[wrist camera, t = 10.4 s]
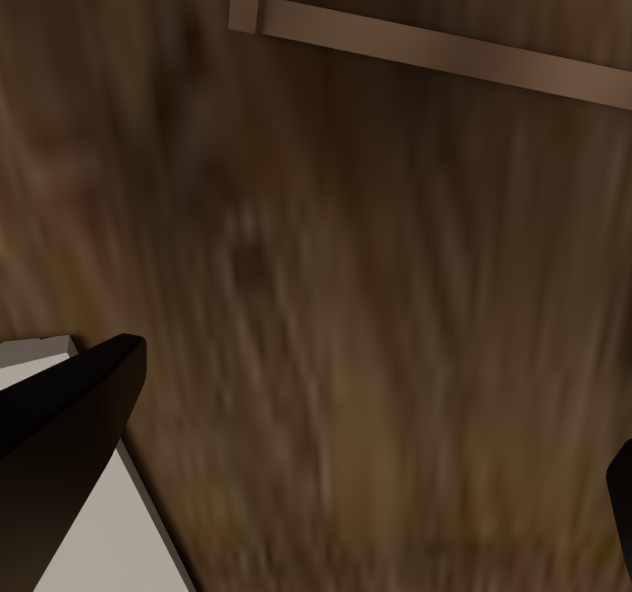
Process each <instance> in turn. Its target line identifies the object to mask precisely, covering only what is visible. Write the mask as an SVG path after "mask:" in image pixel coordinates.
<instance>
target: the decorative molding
mask: <svg viewBox="0 0 632 592" xmlns="http://www.w3.org/2000/svg"><path fill="white" fill-rule="evenodd" d="M77 354H79V353H78V351H77V349H76V347H75V345H74V343H73V341H72V339H71V337H70V335H64V336H55V337H50V338H46V339H42V340H40V338H35V339H25V340H15V341H6V342H2V343H1V344H0V390H2V389H4V388H7V387H9V386H11V385H13V384H15V383H17V382H19V381H21V380H24V379H26V378H28V377H30V376H32V375H34V374H36V373H38V372H41V371H43V370H45V369H47V368H49V367H51V366H53V365H56V364H58V363H60V362H62V361H64V360H66V359H68V358H70V357H73V356H75V355H77ZM33 592H197V591H196V589H195V587H194V585H193V583H192V581H191V579H190V577H189V575H188V573H187V571H186V569H185V567H184V565H183V563H182V561H181V559H180V557H179V555H178V553H177V551H176V549H175V547H174V545H173V543H172V541H171V539H170V537H169V535H168V533H167V531H166V529H165V527H164V525H163V523H162V521H161V519H160V517H159V515H158V513H157V511H156V509H155V507H154V505H153V503H152V501H151V499H150V497H149V495H148V493H147V491H146V489H145V487H144V485H143V483H142V481H141V479H140V476H139V474H138V472H137V470H136V468H135V466H134V464H133V462H132V460H131V458H130V456H129V454H128V452H127V450H126V448H125V446H124V444H123V442H122V440H121V438H120V440H119V442H118V444H117V446H116V449H115V451H114V453H113V455H112V457H111V459H110V461H109V463H108V464H107V466H106V468H105V470H104V471H103V473H102V475H101V477H100V478H99V480H98V482H97V483H96V485H95V487H94V489H93V490H92V492H91V494H90V495H89V497H88V499H87V501H86V502H85V504H84V506H83V507H82V509H81V511H80V513H79V514H78V516H77V518H76V519H75V521H74V523H73V524H72V526H71V528H70V530H69V531H68V533H67V535H66V536H65V538H64V540H63V542H62V543H61V545H60V547H59V548H58V550H57V552H56V554H55V555H54V557H53V559H52V560H51V562H50V564H49V566H48V567H47V569H46V571H45V572H44V574H43V576H42V578H41V579H40V581H39V583H38V584H37V586H36V588H35V589H34V591H33Z"/></svg>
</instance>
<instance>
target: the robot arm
mask: <svg viewBox="0 0 632 592" xmlns="http://www.w3.org/2000/svg"><path fill="white" fill-rule="evenodd" d="M146 372H147V343H146V340H145V339H144V338H143V337H142V336H137V335H132V334H127V333H122V334H119V335H117V336H115V337H113V338H111V339H109V340H107V341H104V342H102V343H100V344H98V345H96V346H94V347H92V348H90V349H87V350H85V351H83V352H81V353H79V354H77V355H75V356H73V357H70V358H68V359H66V360H64V361H62V362H60V363H58V364H56V365H53V366H51V367H49V368H47V369H45V370H43V371H41V372H38V373H36V374H34V375H32V376H30V377H28V378H26V379H24V380H21V381H19V382H17V383H15V384H13V385H11V386H9V387H7V388H4V389H2V390H0V592H33V591H34V589H35V588H36V586H37V584H38V583H39V581H40V579H41V578H42V576H43V574H44V572H45V571H46V569H47V567H48V566H49V564H50V562H51V560H52V559H53V557H54V555H55V554H56V552H57V550H58V548H59V547H60V545H61V543H62V542H63V540H64V538H65V536H66V535H67V533H68V531H69V530H70V528H71V526H72V524H73V523H74V521H75V519H76V518H77V516H78V514H79V513H80V511H81V509H82V507H83V506H84V504H85V502H86V501H87V499H88V497H89V495H90V494H91V492H92V490H93V489H94V487H95V485H96V483H97V482H98V480H99V478H100V477H101V475H102V473H103V471H104V470H105V468H106V466H107V464H108V463H109V461H110V459H111V457H112V455H113V453H114V451H115V449H116V446H117V444H118V442H119V440H120V438H121V435H122V433H123V431H124V428H125V426H126V424H127V422H128V419H129V417H130V415H131V412H132V410H133V408H134V406H135V403H136V401H137V399H138V396H139V394H140V392H141V390H142V387H143V385H144V382H145V379H146ZM606 481H607V486H608V490H609V495H610V499H611V503H612V508H613V512H614V517H615V521H616V526H617V530H618V534H619V539H620V543H621V548H622V552H623V555H624V559H625V563H626V566H627V570H628V573H629V576H630V579H631V582H632V438H631V439H629V440H627V441H626V442H625V443H624V445H623V446H622V448H621V449H620V450H619V452H618V453H617V455H616V456H615V458H614V459H613V461H612V462H611V463H610V465H609V467H608V469H607V473H606Z"/></svg>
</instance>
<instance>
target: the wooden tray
mask: <svg viewBox="0 0 632 592" xmlns="http://www.w3.org/2000/svg"><path fill="white" fill-rule="evenodd" d="M228 29H231V30H236V31H241V32H245V33H250V34H267V35H271V36H276V37H281V38H286V39H291V40H296V41H300V42H305V43H310V44H315V45H320V46H325V47H329V48H334V49H339V50H344V51H349V52H354V53H358V54H363V55H368V56H373V57H378V58H382V59H387V60H392V61H397V62H402V63H407V64H411V65H416V66H421V67H426V68H431V69H436V70H440V71H445V72H450V73H455V74H460V75H465V76H469V77H474V78H479V79H484V80H489V81H493V82H498V83H503V84H508V85H513V86H518V87H522V88H527V89H532V90H537V91H542V92H547V93H551V94H556V95H561V96H566V97H571V98H576V99H580V100H585V101H590V102H595V103H600V104H604V105H609V106H614V107H619V108H624V109H629V110H632V72H630V71H625V70H620V69H616V68H611V67H606V66H601V65H596V64H591V63H587V62H582V61H577V60H572V59H567V58H562V57H558V56H553V55H548V54H543V53H538V52H533V51H529V50H524V49H519V48H514V47H509V46H505V45H500V44H495V43H490V42H485V41H480V40H476V39H471V38H466V37H461V36H456V35H451V34H447V33H442V32H437V31H432V30H427V29H423V28H418V27H413V26H408V25H403V24H398V23H394V22H389V21H384V20H379V19H374V18H369V17H365V16H360V15H355V14H350V13H345V12H340V11H336V10H331V9H326V8H321V7H316V6H312V5H307V4H302V3H297V2H292V1H287V0H230V11H229V24H228Z"/></svg>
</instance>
